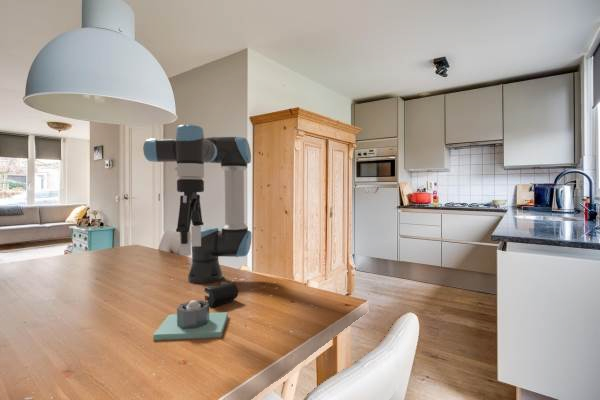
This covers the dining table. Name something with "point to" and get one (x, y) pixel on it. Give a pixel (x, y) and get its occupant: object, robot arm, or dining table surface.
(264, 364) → the dining table surface
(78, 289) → the dining table surface
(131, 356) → the dining table surface
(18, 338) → the dining table surface
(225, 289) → the end cap
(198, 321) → the collar
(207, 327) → the post stand
